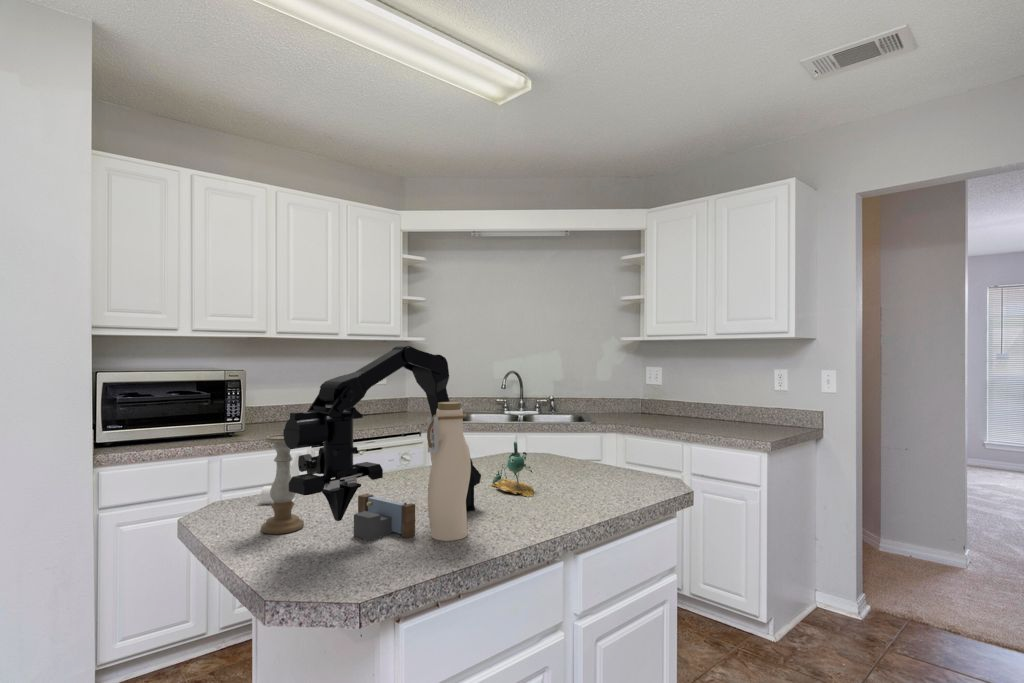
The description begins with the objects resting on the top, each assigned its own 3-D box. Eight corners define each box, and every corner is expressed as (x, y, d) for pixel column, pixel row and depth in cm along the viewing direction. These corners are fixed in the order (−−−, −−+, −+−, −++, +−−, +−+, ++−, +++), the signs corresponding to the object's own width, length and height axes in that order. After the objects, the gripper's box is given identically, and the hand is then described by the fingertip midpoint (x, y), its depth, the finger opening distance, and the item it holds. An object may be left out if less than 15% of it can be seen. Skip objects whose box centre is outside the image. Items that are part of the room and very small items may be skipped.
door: (405, 532, 118) (405, 504, 118) (397, 534, 116) (398, 506, 116) (372, 523, 124) (372, 496, 124) (364, 525, 123) (364, 498, 123)
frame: (415, 535, 117) (415, 502, 117) (406, 538, 115) (406, 505, 115) (366, 522, 126) (366, 492, 127) (357, 524, 124) (358, 494, 125)
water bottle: (449, 547, 110) (449, 406, 110) (415, 539, 115) (415, 403, 115) (479, 532, 118) (479, 402, 119) (446, 526, 123) (446, 400, 124)
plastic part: (260, 505, 141) (260, 460, 141) (275, 495, 151) (274, 452, 151) (290, 504, 141) (290, 459, 141) (303, 494, 151) (303, 452, 151)
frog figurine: (512, 482, 167) (515, 433, 166) (545, 502, 151) (549, 449, 150) (483, 485, 162) (487, 435, 161) (515, 506, 146) (519, 452, 145)
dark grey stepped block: (391, 533, 119) (391, 511, 119) (369, 541, 114) (369, 518, 114) (376, 529, 122) (376, 507, 122) (353, 536, 117) (353, 514, 117)
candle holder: (260, 536, 116) (261, 440, 117) (261, 525, 124) (262, 434, 125) (305, 531, 120) (305, 437, 120) (302, 520, 128) (303, 432, 128)
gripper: (351, 433, 123) (350, 504, 123) (272, 444, 108) (272, 525, 108) (384, 438, 117) (384, 512, 116) (306, 450, 102) (305, 536, 101)
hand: (338, 520), depth 111 cm, fingers closed
